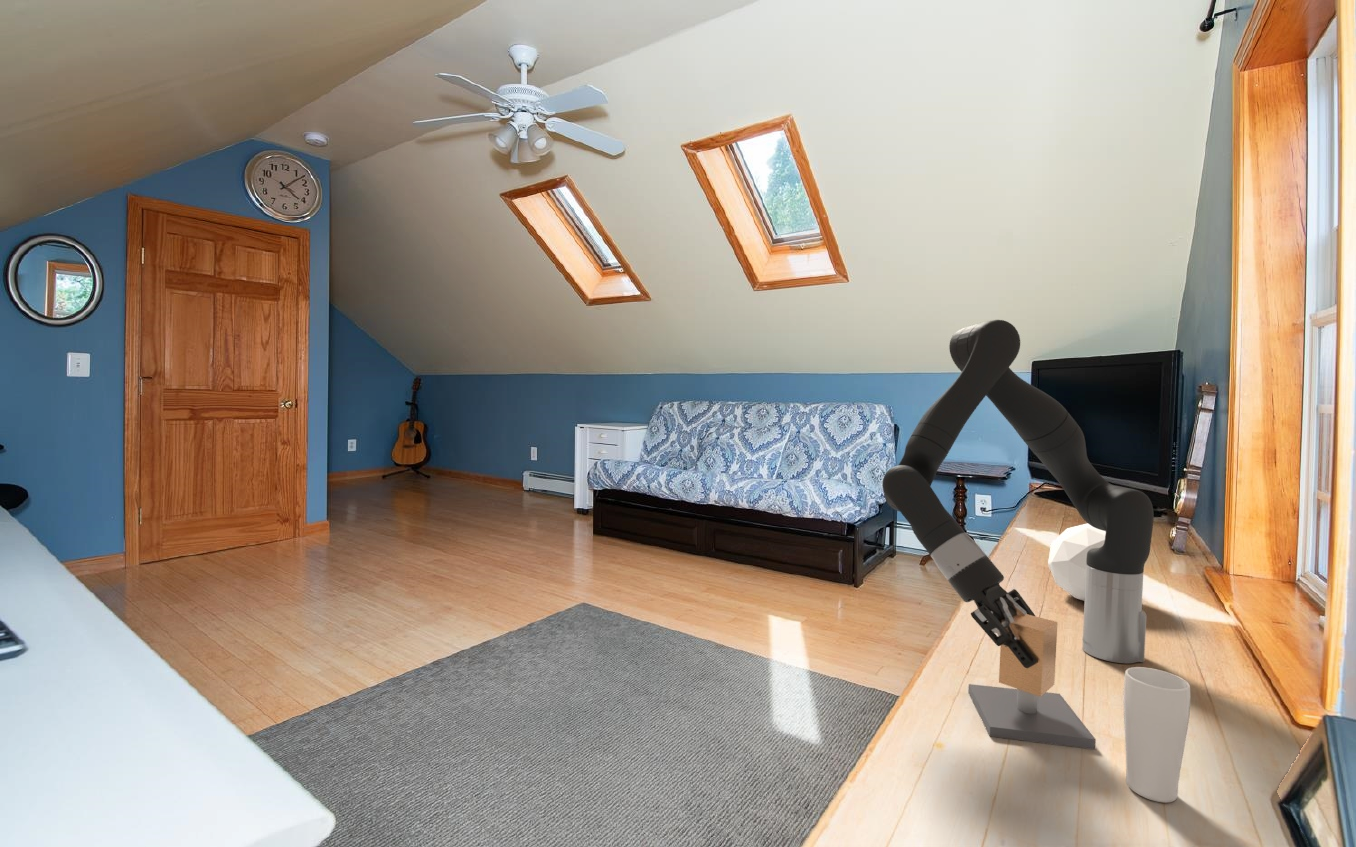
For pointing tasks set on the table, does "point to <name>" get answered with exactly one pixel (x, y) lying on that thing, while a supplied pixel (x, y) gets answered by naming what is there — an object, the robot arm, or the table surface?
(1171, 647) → the table surface
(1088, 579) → the robot arm
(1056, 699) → the post base
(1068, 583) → the geometric orb
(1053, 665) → the wooden block
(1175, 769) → the drinking glass
